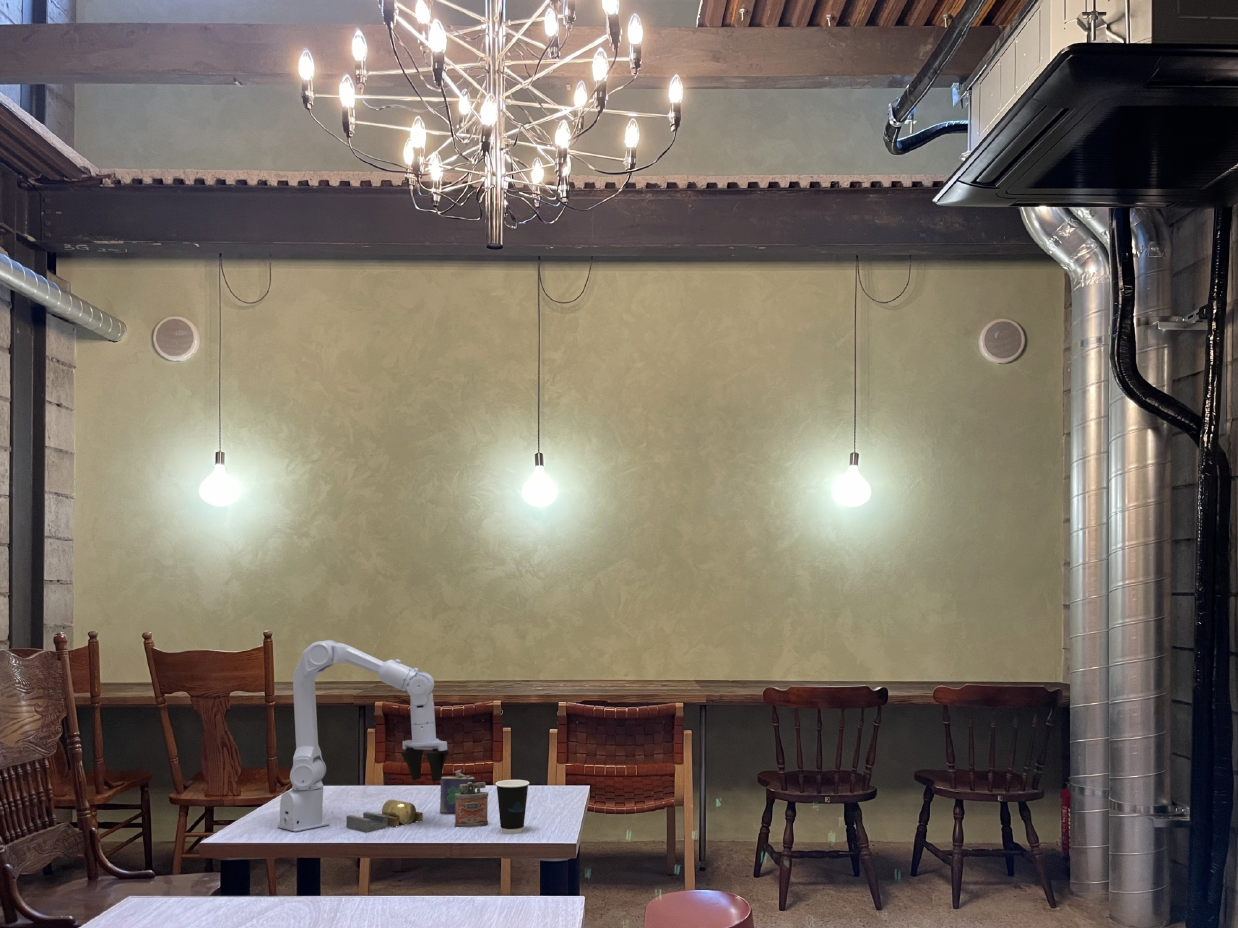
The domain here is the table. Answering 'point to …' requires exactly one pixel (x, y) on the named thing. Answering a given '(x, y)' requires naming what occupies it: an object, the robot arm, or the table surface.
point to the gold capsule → (400, 810)
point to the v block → (367, 822)
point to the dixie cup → (512, 804)
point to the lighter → (471, 806)
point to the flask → (452, 791)
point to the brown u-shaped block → (395, 821)
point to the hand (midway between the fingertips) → (426, 780)
